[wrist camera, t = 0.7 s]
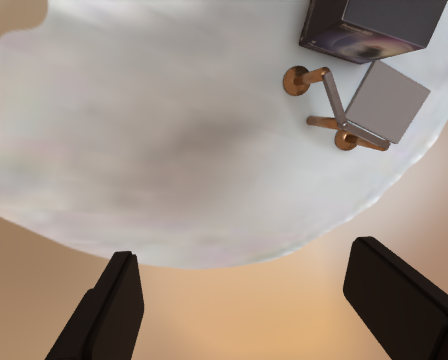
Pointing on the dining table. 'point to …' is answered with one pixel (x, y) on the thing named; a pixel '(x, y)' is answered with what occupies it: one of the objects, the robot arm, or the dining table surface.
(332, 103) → the bent rod
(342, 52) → the small box
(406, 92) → the rubber pad
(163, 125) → the dining table surface
